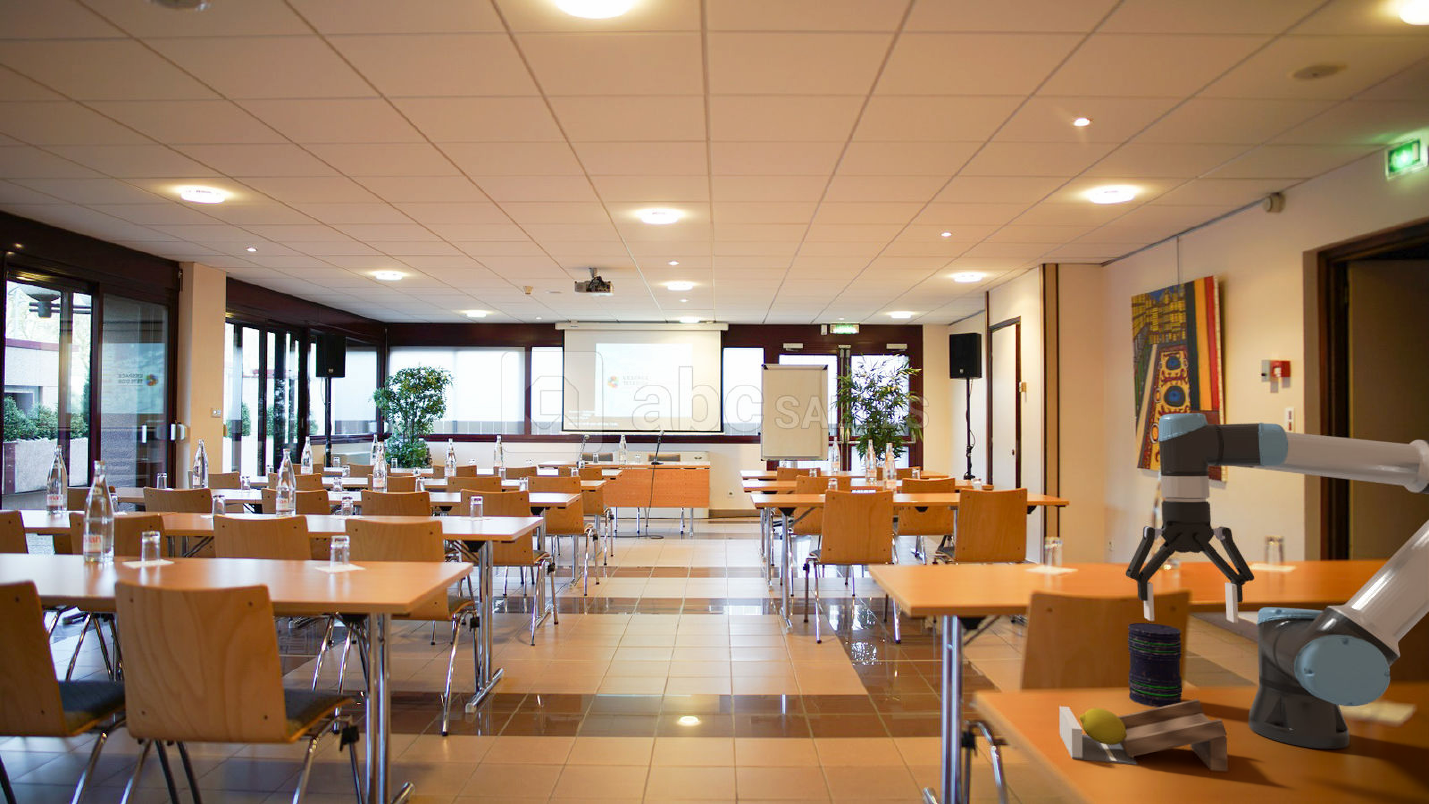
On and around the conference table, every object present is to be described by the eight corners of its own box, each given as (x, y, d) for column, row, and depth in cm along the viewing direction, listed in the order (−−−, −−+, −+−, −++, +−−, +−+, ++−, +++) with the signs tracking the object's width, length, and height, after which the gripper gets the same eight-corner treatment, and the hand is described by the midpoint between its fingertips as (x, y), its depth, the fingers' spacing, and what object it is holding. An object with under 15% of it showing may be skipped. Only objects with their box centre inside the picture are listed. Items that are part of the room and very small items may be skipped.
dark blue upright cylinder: (1163, 711, 163) (1162, 635, 163) (1118, 697, 171) (1117, 625, 172) (1192, 703, 168) (1191, 630, 168) (1147, 691, 176) (1146, 621, 177)
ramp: (1204, 747, 143) (1203, 699, 143) (1229, 773, 132) (1228, 721, 132) (1110, 739, 146) (1109, 692, 147) (1126, 763, 135) (1126, 712, 136)
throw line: (1100, 737, 147) (1100, 736, 147) (1116, 762, 135) (1116, 760, 135) (1095, 737, 147) (1095, 735, 147) (1111, 762, 136) (1111, 760, 136)
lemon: (1079, 735, 138) (1127, 755, 137) (1089, 704, 139) (1137, 724, 137) (1070, 728, 144) (1116, 747, 142) (1080, 698, 144) (1126, 717, 143)
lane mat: (1119, 739, 146) (1119, 737, 146) (1137, 765, 135) (1137, 763, 135) (1059, 734, 149) (1059, 732, 149) (1072, 758, 137) (1072, 756, 137)
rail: (1069, 735, 148) (1068, 707, 149) (1082, 759, 137) (1082, 729, 137) (1059, 734, 149) (1059, 706, 149) (1072, 758, 137) (1071, 728, 137)
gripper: (1251, 498, 147) (1257, 617, 146) (1104, 498, 151) (1108, 614, 150) (1272, 501, 139) (1279, 626, 138) (1117, 501, 144) (1122, 622, 142)
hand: (1190, 620), depth 144 cm, fingers open, 13 cm apart
